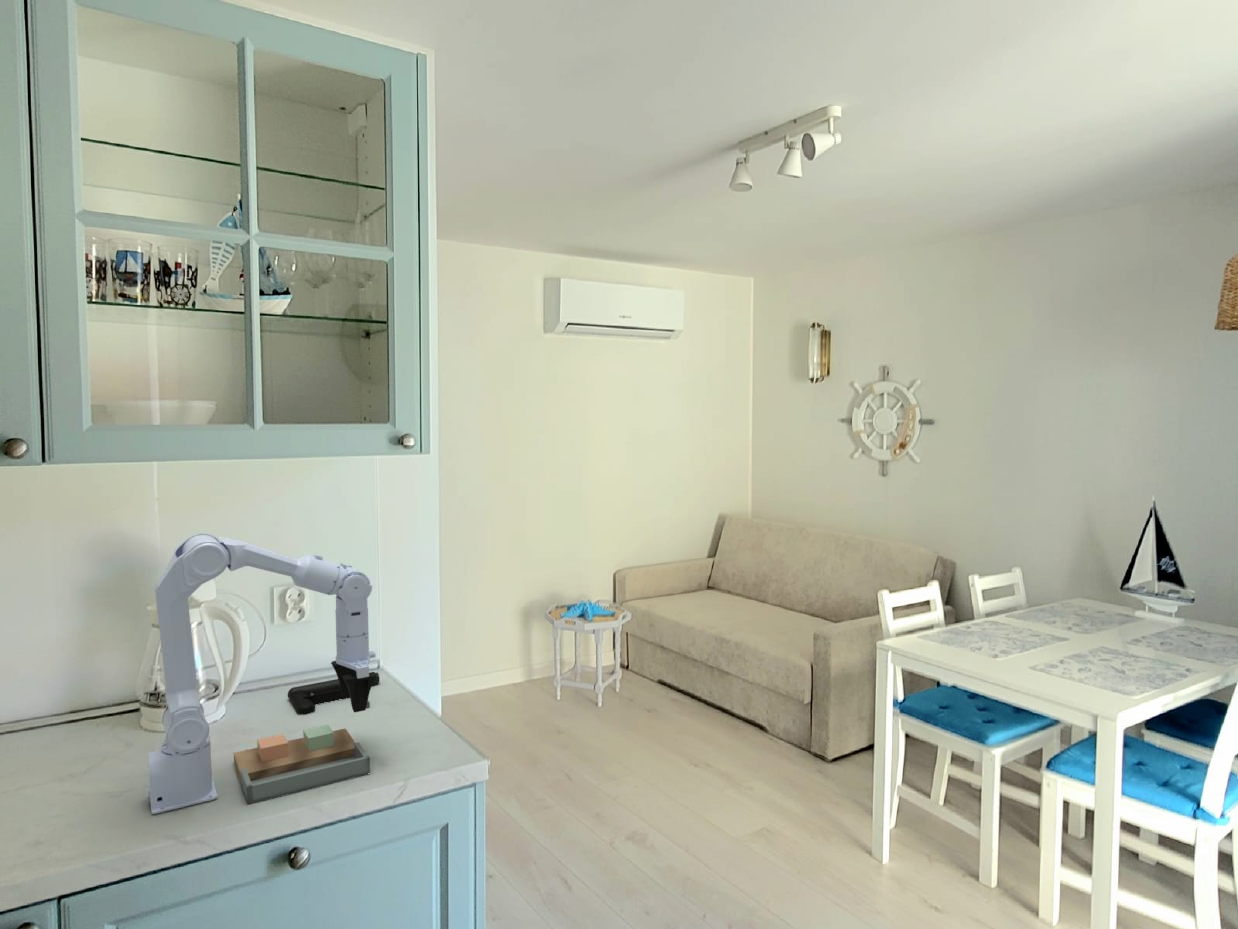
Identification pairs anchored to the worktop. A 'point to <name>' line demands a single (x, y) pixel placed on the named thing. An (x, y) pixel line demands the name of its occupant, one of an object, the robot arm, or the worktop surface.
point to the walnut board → (294, 757)
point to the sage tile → (318, 737)
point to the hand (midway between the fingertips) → (354, 704)
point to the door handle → (317, 695)
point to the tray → (305, 777)
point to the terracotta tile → (272, 747)
